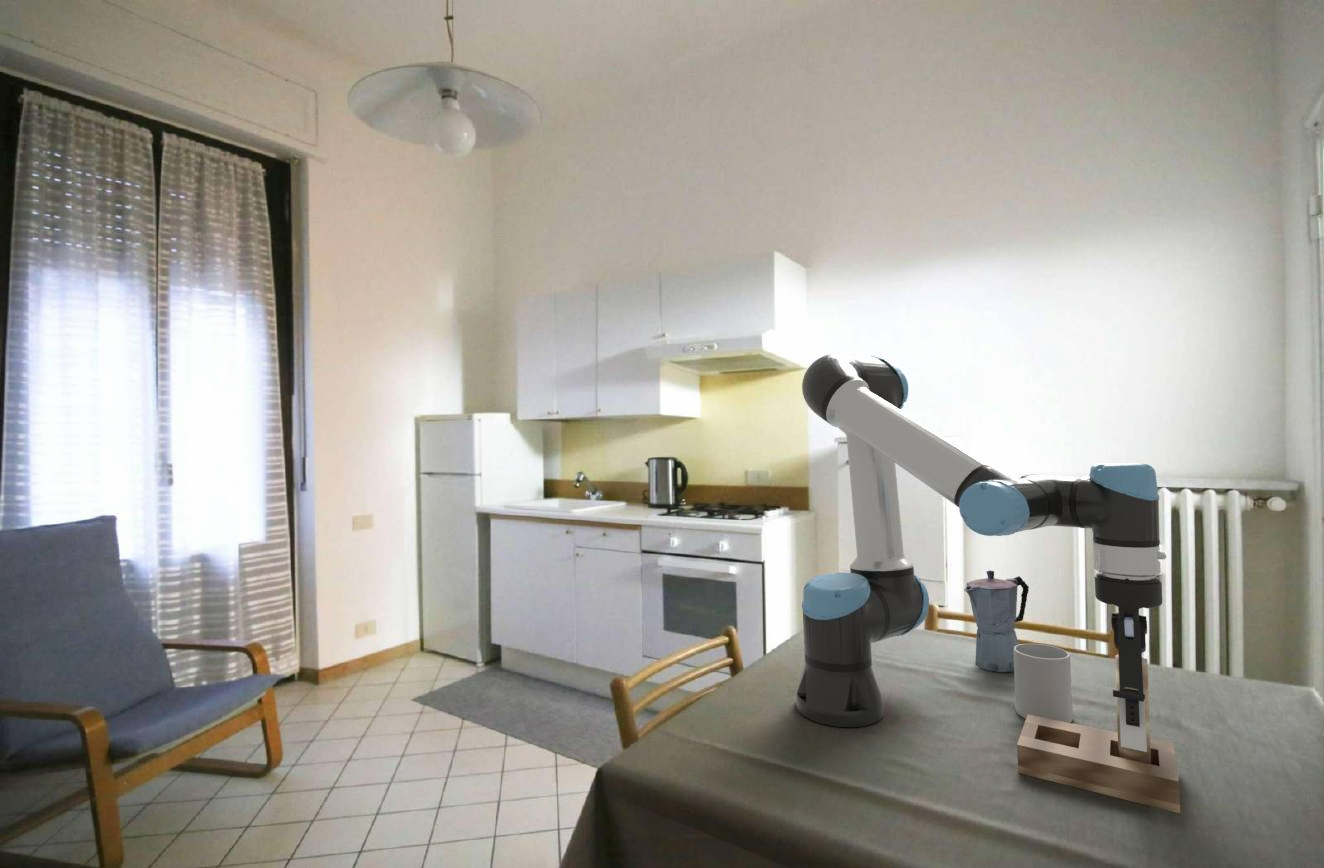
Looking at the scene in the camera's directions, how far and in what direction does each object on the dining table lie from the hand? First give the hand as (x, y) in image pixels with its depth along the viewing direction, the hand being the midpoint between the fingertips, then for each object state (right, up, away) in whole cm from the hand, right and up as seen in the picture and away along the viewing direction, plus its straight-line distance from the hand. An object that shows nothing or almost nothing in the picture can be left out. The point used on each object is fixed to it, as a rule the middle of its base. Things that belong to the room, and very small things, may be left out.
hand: (1133, 728), depth 87 cm
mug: (+1, -8, +23) cm, 25 cm away
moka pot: (+6, -8, +45) cm, 46 cm away
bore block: (-3, -7, +3) cm, 9 cm away
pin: (0, -6, 0) cm, 6 cm away
